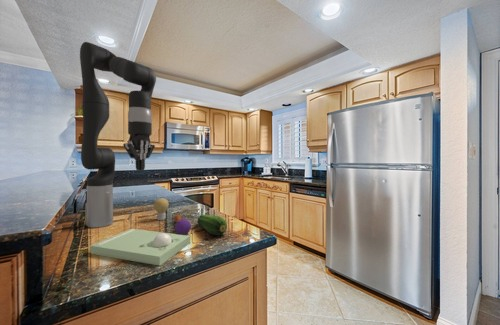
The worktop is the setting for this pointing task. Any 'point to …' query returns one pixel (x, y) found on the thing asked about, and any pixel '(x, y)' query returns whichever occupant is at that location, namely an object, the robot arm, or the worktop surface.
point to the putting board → (139, 246)
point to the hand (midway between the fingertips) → (140, 170)
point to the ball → (162, 240)
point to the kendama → (182, 225)
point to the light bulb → (161, 208)
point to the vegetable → (212, 224)
